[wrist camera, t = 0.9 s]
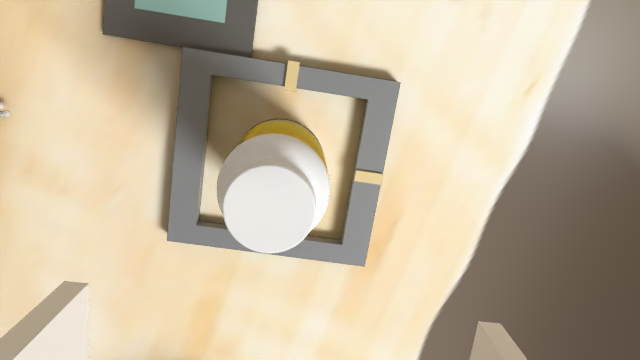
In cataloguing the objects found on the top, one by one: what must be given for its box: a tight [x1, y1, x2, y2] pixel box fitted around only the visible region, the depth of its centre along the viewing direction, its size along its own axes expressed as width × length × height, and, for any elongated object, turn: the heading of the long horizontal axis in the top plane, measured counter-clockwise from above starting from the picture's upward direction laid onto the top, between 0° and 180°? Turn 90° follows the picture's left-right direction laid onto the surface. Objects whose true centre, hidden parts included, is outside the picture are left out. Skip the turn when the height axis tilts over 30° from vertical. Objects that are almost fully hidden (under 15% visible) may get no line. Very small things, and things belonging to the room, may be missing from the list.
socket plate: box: [167, 47, 401, 267], centre depth 33 cm, size 15×14×1 cm
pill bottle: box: [217, 119, 330, 253], centre depth 28 cm, size 6×6×12 cm
